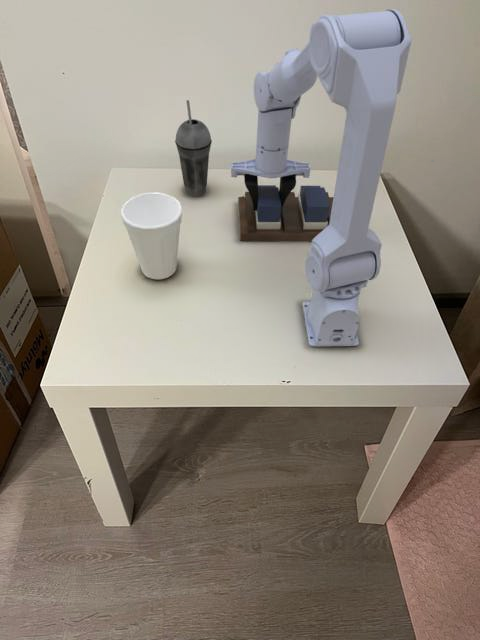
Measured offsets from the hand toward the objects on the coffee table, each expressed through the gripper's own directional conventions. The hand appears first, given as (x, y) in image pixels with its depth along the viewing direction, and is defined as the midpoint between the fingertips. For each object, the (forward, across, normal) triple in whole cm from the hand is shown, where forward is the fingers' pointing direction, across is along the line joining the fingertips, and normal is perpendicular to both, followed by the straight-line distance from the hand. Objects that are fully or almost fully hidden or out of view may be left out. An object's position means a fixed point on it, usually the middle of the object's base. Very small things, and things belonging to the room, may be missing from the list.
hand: (267, 207), depth 96 cm
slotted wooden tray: (+3, -4, 0) cm, 6 cm away
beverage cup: (+4, +14, -11) cm, 19 cm away
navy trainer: (+2, 0, 0) cm, 2 cm away
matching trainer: (+2, -9, 0) cm, 9 cm away
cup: (+4, +20, +14) cm, 25 cm away
